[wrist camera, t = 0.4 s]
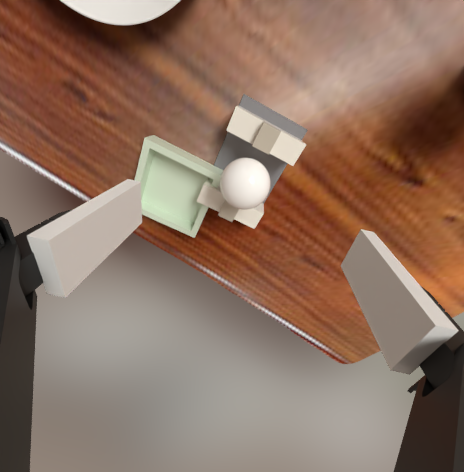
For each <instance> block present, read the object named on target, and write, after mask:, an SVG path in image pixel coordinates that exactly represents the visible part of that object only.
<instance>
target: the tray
mask: <svg viewBox="0 0 464 472" xmlns="http://www.w3.org/2000/svg"><path fill="white" fill-rule="evenodd" d="M222 172H223V170H222V169H220V168H218V167H216V166H214V165H212V164H210V163H208V162H206V161H204V160H202V159H200V158H198V157H196V156H194V155H192V154H190V153H188V152H186V151H184V150H182V149H180V148H178V147H176V146H174V145H172V144H170V143H168V142H166V141H164V140H162V139H160V138H158V137H156V136H155V135H152V136H149V137H146V138H144V142H143V147H142V151H141V155H140V159H139V163H138V168H137V172H136V176H135V181H139V182H141V203H142V215H145V216H147V217H149V218H151V219H153V220H156V221H158V222H160V223H162V224H164V225H167V226H169V227H171V228H173V229H176V230H178V231H180V232H182V233H184V234H187V235H189V236H191V237H193V238H195V236H196V234H197V232H198V230H199V228H200V225H201V223H202V221H203V219H204V217H205V214H206V212H207V210H208V208H209V207H207V206H205V205H203V204H201V203H199V202H197V199H198V197H199V194H200V192H201V190H202V187H203V185H204V183H205V182H206V180H207V179H208V178H210V179H212V180H213V182H212V184H211V186H213V187H215V188H218V186H219V184H220V178H221V174H222Z"/></svg>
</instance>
